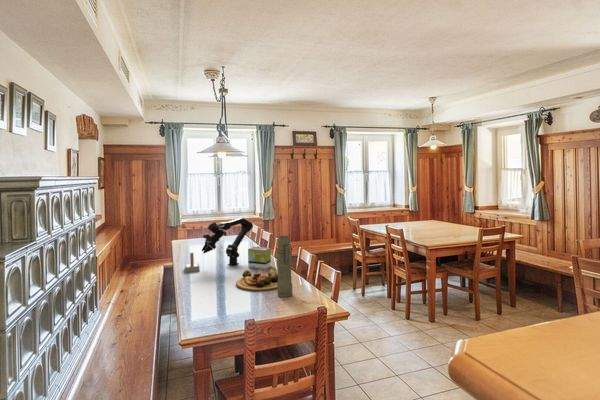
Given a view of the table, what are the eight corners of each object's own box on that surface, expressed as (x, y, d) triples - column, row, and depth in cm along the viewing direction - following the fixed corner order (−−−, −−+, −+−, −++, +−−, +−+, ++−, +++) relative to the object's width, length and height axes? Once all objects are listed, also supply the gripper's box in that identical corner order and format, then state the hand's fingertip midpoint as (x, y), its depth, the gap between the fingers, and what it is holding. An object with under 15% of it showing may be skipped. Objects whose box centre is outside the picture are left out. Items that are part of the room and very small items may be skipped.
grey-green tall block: (287, 291, 228) (286, 234, 226) (295, 297, 218) (294, 237, 215) (274, 293, 225) (272, 235, 222) (281, 299, 214) (280, 238, 211)
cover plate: (197, 267, 281) (197, 253, 280) (186, 268, 278) (186, 254, 278) (197, 264, 290) (196, 250, 290) (186, 265, 288) (185, 251, 287)
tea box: (248, 267, 289) (247, 248, 288) (254, 264, 298) (253, 246, 297) (265, 269, 283) (265, 249, 282) (271, 266, 292) (271, 247, 291)
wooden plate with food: (227, 283, 248) (227, 271, 248) (268, 274, 268) (267, 263, 267) (251, 296, 223) (251, 283, 222) (295, 285, 242) (294, 273, 241)
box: (199, 271, 281) (199, 266, 280) (185, 272, 277) (185, 267, 277) (198, 267, 291) (198, 262, 291) (185, 268, 288) (184, 264, 288)
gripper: (207, 228, 294) (193, 243, 290) (210, 231, 276) (196, 247, 273) (217, 237, 297) (204, 252, 294) (222, 240, 280) (207, 257, 277)
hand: (202, 252), depth 284 cm, fingers open, 9 cm apart
